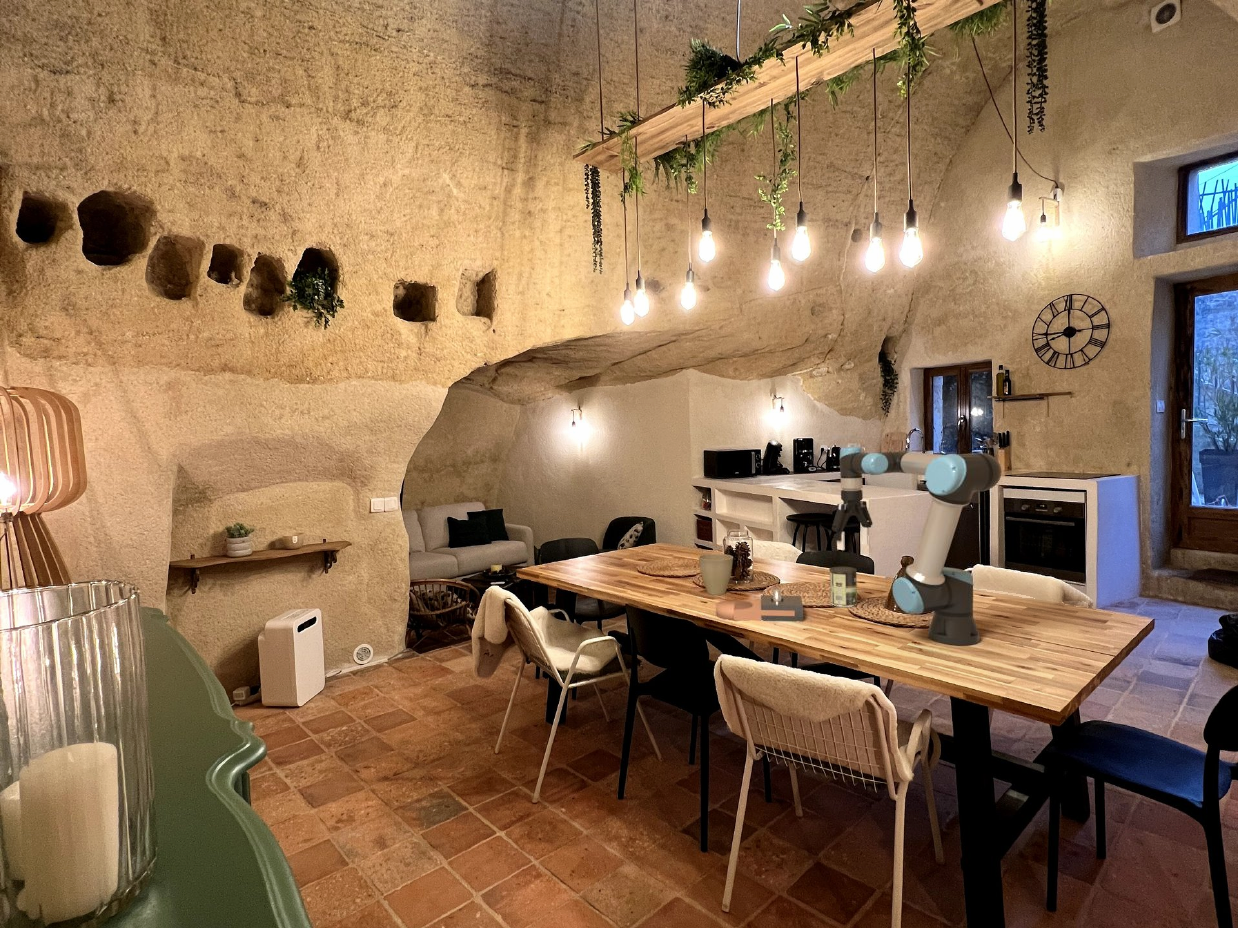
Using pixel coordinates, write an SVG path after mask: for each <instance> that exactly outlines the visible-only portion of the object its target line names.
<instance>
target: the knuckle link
mask: <svg viewBox="0 0 1238 928" xmlns="http://www.w3.org/2000/svg"><path fill="white" fill-rule="evenodd" d="M715 613H716V615H715V616H716V617H717V618H719V619H723V620H726V619H728V620H727V621H750V620H757V621H756V622H759V621H760V622H762V621H761V615H766V616H795V611H784V610H761V599H760V600H758V599H757V600H754V599H751V600H749V599H748V600H747V599H727V600H722V601H718V602H717V603H716V604H715ZM758 620H759V621H758Z"/></svg>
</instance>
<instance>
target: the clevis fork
mask: <svg viewBox="0 0 1238 928" xmlns="http://www.w3.org/2000/svg"><path fill="white" fill-rule="evenodd" d="M760 600H761V610H784V611H795V616H766V615H761V620H763V621H765V622H797V621H799V622H800V623H801V622H802V623H803V622H804V606H803V599H802V595H781V602H773V595H765V594H764V595H760ZM763 621H762V622H763Z"/></svg>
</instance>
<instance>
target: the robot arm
mask: <svg viewBox="0 0 1238 928" xmlns="http://www.w3.org/2000/svg"><path fill="white" fill-rule="evenodd" d="M839 470H840V471H839V472H840V489H841V491H840V499H841V501H843V502H842V503H837V505H836V512H835V515H834V519H833V521H832V522H833V523H832V526H831V530H832V531H833V532H835V533H836V535H835V536H836V538H835V539H836V546H837V547H836V548H837V550H838V551H839V550H841V551H845V550H846V548H845V547H846V545H845V531H844V529H845V527H846V525H847V523H848V521H849V518H850V517H852V516H855V517H856V518H857V520H858V522H859V523H860V525H861V527H860V545H862V546H869V528H871V527H872V526H873V523H874V522H873V521H872V518H871V514H870V512H869V508H868V507H867V506H868V505H867V504H868V503H867V501H866V500H863V498H864V496H863V475H870V476H880V475H884V474H895V473H896V474H898V473H899V474H909V475H910V474H911V475H917V476H924V481H926V482H925V485H926V488H927V489H928V495H929V496H930V498H931V502H930V505H929V509H928V512H927V516H926V519H925V522H924V525H923V529H922V532H921V536H920V539H919V543H918V546H917V549H916V551H915V552H916V553H915V556H914V560H913V563H911V564H909V565H906V567H905V571H904V575H903V576H902V577H901V576H900V577H898V578H896V579H895V580H894V581H893V583H892V595H893V598H894V601H895V603H896V604H897V606H898V607H899V608H900V609H901V611H903V612H905V613H906V614H911V615H912V614H913V615H914V614H918V615H919V614H922V613H923V614H924V613H927V612H928V613H929V612H933V616H932V617H931V622H930V624H929V626H928V630H927V631H928V635H927V636H928V638H929V639H930V640H931V641H934V642H937V643H940V644H945V645H951V646H954V645H955V646H972V645H976V644H979V642H980V632H979V629H978V626H977V623H976V621H975V618H974V586H975V585H974V582H973V578H974V577H973V575H972V573H971V572H970V571H967V570H963V569H960V568H955V567H945V563H946V560H947V557H948V553H949V550H950V548H951V544H952V541H953V538H954V535H955V532H956V529H957V526H958V522H959V519H960V516H961V512H962V510H963V508H964V507H967V506H968V505H969V504H970V503H971V501H972V497H973V495H974V493H979V492H985V491H988V490H991V489H992V488H994V487H995V486H996V485H997V484H999V482H1000V479H1001V478H1002V473H1003V472H1002V467H1001V464H1000V462H999V461H998V460H997V458H995V457H994V456H993V455H991V454H988V453H984V452H975V453H973V452H972V453H960V454H959V453H956V454H955V453H949V454H936V453H924V452H913V451H911V450H900V451H899V450H898V451H883V452H881V451H880V452H863V451H862V447H858V446H851V447H850V446H848V447H847V446H846V447H841V448H840V449H839Z"/></svg>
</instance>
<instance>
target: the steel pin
mask: <svg viewBox="0 0 1238 928" xmlns="http://www.w3.org/2000/svg"><path fill="white" fill-rule="evenodd" d="M772 596H773V602H781V596H782V589H781V588H774V589H772Z"/></svg>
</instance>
